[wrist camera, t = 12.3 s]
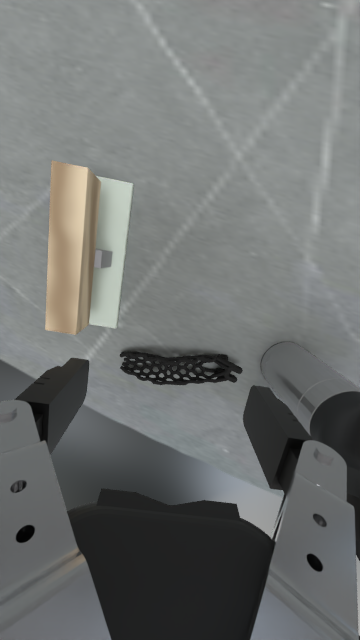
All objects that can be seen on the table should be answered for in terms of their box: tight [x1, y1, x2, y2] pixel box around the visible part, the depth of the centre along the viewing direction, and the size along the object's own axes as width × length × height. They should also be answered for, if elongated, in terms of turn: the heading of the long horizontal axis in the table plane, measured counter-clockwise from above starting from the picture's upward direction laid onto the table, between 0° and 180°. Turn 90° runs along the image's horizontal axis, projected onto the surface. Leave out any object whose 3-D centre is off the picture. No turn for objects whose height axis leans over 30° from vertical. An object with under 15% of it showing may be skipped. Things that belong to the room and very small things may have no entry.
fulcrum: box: [89, 176, 134, 328], centre depth 37 cm, size 10×24×7 cm, turn 170°
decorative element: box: [120, 352, 243, 385], centre depth 43 cm, size 22×5×6 cm, turn 86°
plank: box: [45, 161, 101, 335], centre depth 31 cm, size 4×20×5 cm, turn 170°
